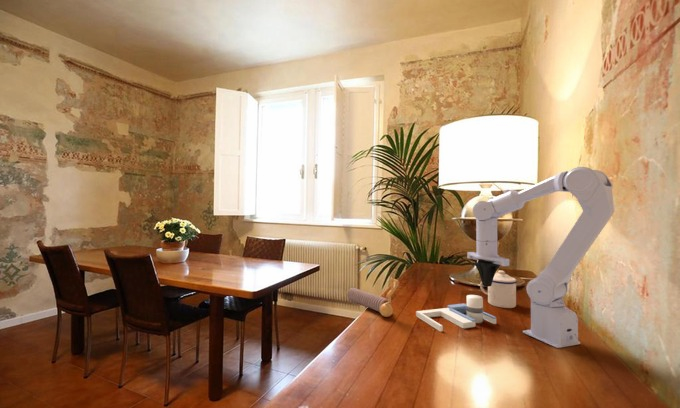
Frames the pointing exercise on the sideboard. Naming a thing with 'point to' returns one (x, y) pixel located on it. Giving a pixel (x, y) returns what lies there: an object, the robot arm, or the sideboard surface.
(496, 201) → the robot arm
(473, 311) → the banded white cylinder
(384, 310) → the figurine
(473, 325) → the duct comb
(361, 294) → the coil
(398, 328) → the sideboard surface
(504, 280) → the teacup with lid
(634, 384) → the sideboard surface
